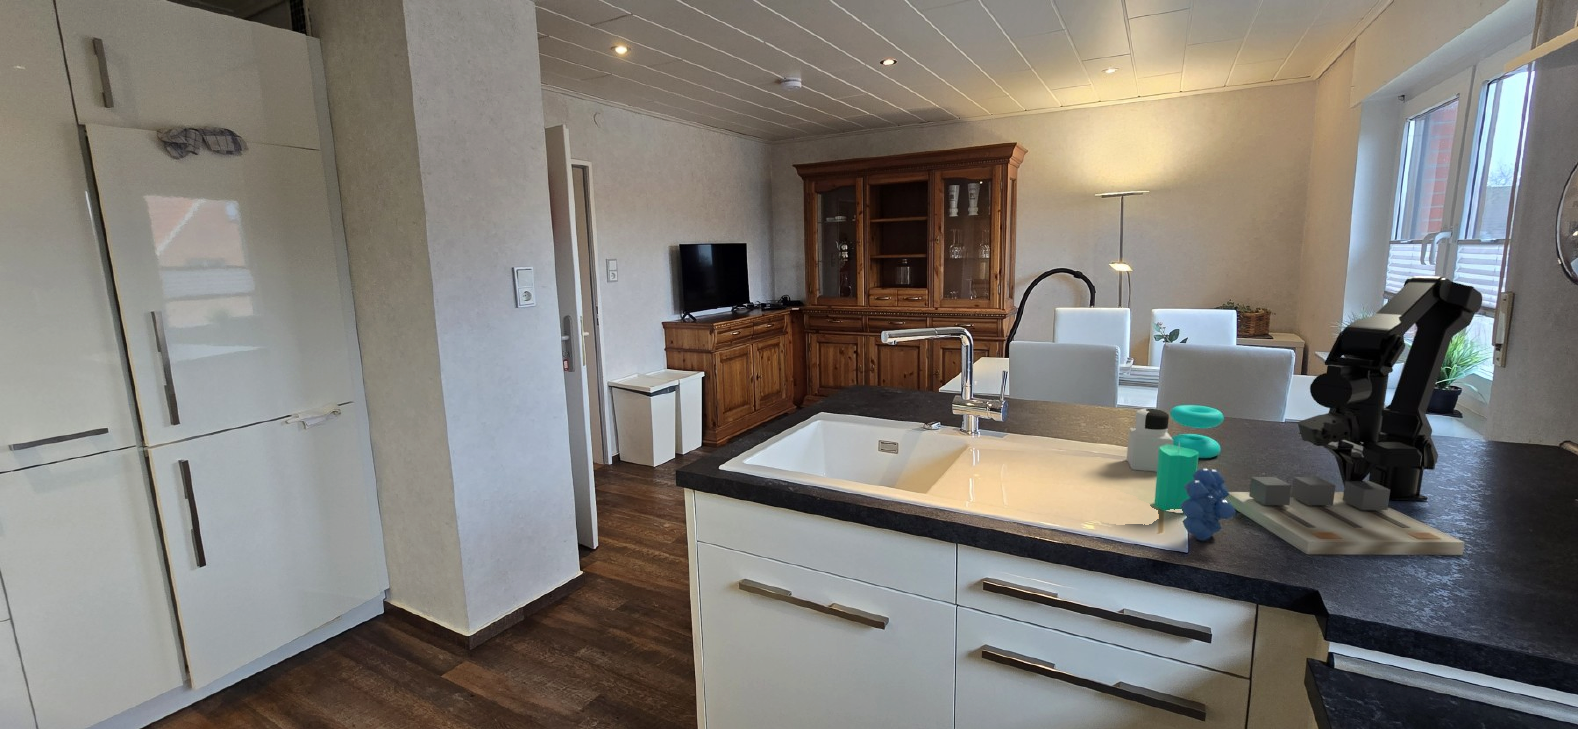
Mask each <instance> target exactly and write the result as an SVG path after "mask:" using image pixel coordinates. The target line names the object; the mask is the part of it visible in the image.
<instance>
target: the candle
mask: <svg viewBox="0 0 1578 729" xmlns="http://www.w3.org/2000/svg"><path fill="white" fill-rule="evenodd" d="M1198 456H1199V452H1197V451H1196V450H1192V449H1187V448H1183V447H1180V442H1179V446H1174V445H1169V444H1167V445H1163V446H1161V447H1160V448H1159V455H1158V467H1157V472H1156V481H1155V482H1156V483H1155V494H1154V506H1155V507H1156V508H1157V509H1158V510H1162V511H1164V512H1167V511H1166V510H1170V509H1174V510H1175V509H1181V506H1180V505H1181V504H1182V503H1183V502H1184V501H1185V500H1188V499H1189V498H1190V497H1189V495H1188V494H1187V492H1186V490H1185V488H1184V486H1185V485H1186V484H1187V483H1188V482H1190V481H1192V480H1194V477H1193V474H1194V473H1195V472H1196V471H1197V470H1198V464H1199V458H1198Z"/></svg>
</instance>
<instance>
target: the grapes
mask: <svg viewBox="0 0 1578 729" xmlns="http://www.w3.org/2000/svg"><path fill="white" fill-rule="evenodd" d="M1193 477H1194V480H1192V481H1190V482H1188V483H1187V484H1186V485H1185V486H1184V488H1185V490H1186V492H1187V494H1188V495H1189V497H1190V498H1189V499H1188V500H1185V501H1184V502H1183V503H1182V504H1181V505H1180V506H1181V509H1182V511H1183V513H1184V514H1183V515H1184V516H1186V518H1184V519H1183V520H1182V525H1184V526H1183V527H1184V529H1185V530H1186V531H1187V532H1188V533H1190V534H1191V535H1193V536H1194V539H1197V540H1198V541H1207V540H1208V539H1210V538H1211V537H1213V536H1214V534H1217V533H1218V532H1219V531H1220V530H1222V528H1223V527H1222V526H1221V523H1220V520H1228V519H1230V518H1232V517H1233V516H1234V515H1236V514H1237V510H1236V509H1235V508H1234V507H1233V506H1232V504H1231V503H1230V502H1229V501H1227V500H1226V497H1227V496H1228V495H1229V493H1228V492H1229V491H1228V488H1227V487H1226V486H1225V485H1224V484H1225V480H1224V477H1223V476H1222V474H1221V473H1220V472H1219V470H1216V469H1208V468H1200V469H1197V471H1196V472H1195V473H1194V474H1193Z"/></svg>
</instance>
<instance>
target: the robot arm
mask: <svg viewBox="0 0 1578 729" xmlns="http://www.w3.org/2000/svg"><path fill="white" fill-rule="evenodd" d="M1482 305H1483V294H1482V293H1481V292H1480V291H1478V289H1476V288H1475V287H1474V286H1472V285H1467V284H1466V285H1465V284H1462V283H1459V282H1456V281H1455V282H1454V281H1451V280H1450V279H1449V278H1444V277H1443V276H1417V275H1416V276H1415V275H1414V276H1412V277H1408V278H1406V280H1405V281H1404V283H1403V287H1402V288H1401V289H1399V291H1397V293H1396V294H1394V295H1393V296H1392V298H1390V299H1389V300H1388V301H1387V302H1386V303H1385V304H1384V305H1383V306H1382V307H1381V308H1380V309H1378V311H1377V312H1376V313H1375V314H1373V315H1371V316H1367V317H1362V318H1358V319H1357V320H1354V321H1353V322H1352V323H1350V324H1348V325H1346V326H1345V327H1344V328H1343V330H1341V331H1340V332H1339V334H1337V337H1336V340H1335V341H1334V343H1333V345H1332V348H1331V349H1330V351H1329V353H1328V355H1327V356H1326V359H1325V361H1324V365H1325V366H1326V372H1324V373H1322V374H1319V375H1317V376H1316V377H1315V378H1314V379H1313V380H1312V382H1311V383H1310V386H1309V391H1310V396H1311V398H1312V399H1313V400H1314V401H1315V402H1316V403H1317V404H1318V405H1320V406H1321V407H1325V408H1327V409H1329V410H1328V413H1323V414H1318V415H1314V416H1312V417H1309V418H1305V419H1303V420H1300V421H1298V422H1297V425H1298V430H1299V435H1300V437H1301V440H1302V441H1304V442H1308V443H1311V444H1312V445H1313V446H1316V447H1323V448H1324V449H1326V450H1327V451H1328V452H1329V453H1331V454H1332V455H1333V456H1334V458H1335V460H1336V463H1337V466H1338V471H1339V473H1340V477H1341V481H1342V485H1343V488H1344V487H1345V481H1365V478H1366V477H1368V475H1369V477H1368V481H1371V482H1373V483H1376V484H1378V485H1381V486H1383V487H1385V488H1388V489H1390V496H1389V500H1390V501H1428V499H1429V498H1428V496H1425V495H1424V494H1421V489H1422V481H1423V476H1424V470H1430V471H1433V470H1436V464H1437V463H1438V457H1439V453H1438V451H1437V449H1436V446H1435V444H1434V442H1433V439H1432V433H1433V428H1432V426H1431V424H1430V422H1429V419H1428V417H1427V415H1426V411H1427V409H1428V406H1429V404H1430V401H1431V398H1432V395H1433V393H1434V390H1435V386H1436V384H1437V381H1438V378H1439V375H1440V373H1441V369H1442V367H1443V363H1444V361H1445V358H1446V355H1447V353H1448V349H1449V347H1450V344H1451V341H1452V340H1453V337H1454V336H1455V335H1457V334H1459V333H1460V332H1462V331H1463V330H1464V329H1465V328H1467V327H1469V326H1470V325H1471V323H1472V321H1473V319H1474V317H1475V314H1476V313H1478V312H1479V311H1480V310H1481V307H1482ZM1414 325H1415V326H1416V331H1415V335H1414V336H1413V340H1412V342H1411V346H1410V349H1409V351H1408V354H1407V357H1406V360H1405V363H1404V366H1403V368H1402V371H1401V374H1400V376H1399V379H1398V382H1397V385H1396V388H1395V391H1394V393H1393V397H1392V399H1391V402H1390V404H1388V405H1387V406H1386V407H1385V403H1386V397H1387V396H1386V395H1387V390H1388V381H1389V374H1391V373H1392V372H1393V371H1394V369H1393V367H1394V366H1395V364H1396V363H1397V362H1398V359H1399V358H1400V357H1401V355H1402V353H1403V352H1404V350H1405V349H1406V343H1405V337H1404V336H1405V334H1406V333H1407V332H1408V331H1409V330H1410V329H1411V328H1412V327H1413V326H1414Z"/></svg>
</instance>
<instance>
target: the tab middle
mask: <svg viewBox="0 0 1578 729" xmlns="http://www.w3.org/2000/svg"><path fill="white" fill-rule="evenodd" d="M1291 485H1292V487H1291V492H1292V493H1291V496H1292V497H1293V498H1295V499H1297V500H1299V501H1301V502H1303V503H1305V504H1307V505H1333V501H1334V494H1335V492H1336V486H1337V485H1336V484H1333V483H1332V482H1330V481H1327V480H1325V479H1323V478H1321V477H1319V476H1293V477H1292V484H1291Z"/></svg>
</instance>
